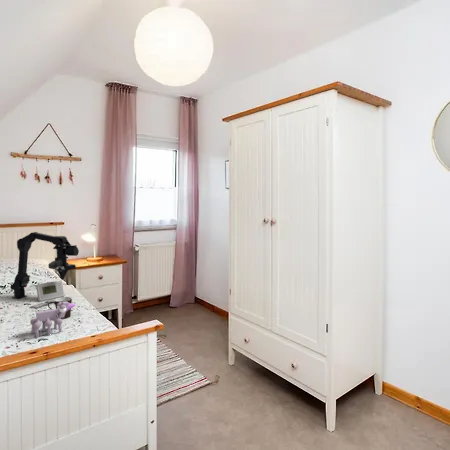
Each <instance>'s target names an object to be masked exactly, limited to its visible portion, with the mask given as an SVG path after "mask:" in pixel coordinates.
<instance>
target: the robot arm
mask: <svg viewBox="0 0 450 450" xmlns="http://www.w3.org/2000/svg"><path fill="white" fill-rule="evenodd" d="M36 240H39V241H44V242H48V243H51V244H53V245H55V246H54V247H52V249H53V250H56V257H54V260H53V261H51V262H49V263H48V265H47V266H48V269H50V270H52V269H53V270H54V271H56V272H57V273H58V275H59V276H60V279H61V281H63V280H64V279H65V277H66V276H67V273H68V272H69V271H71V270H76V269H77V268H76V267H77V265H76V264H72V263H70V264H69V262H67V261H68V259H69V257H72V256H75V257H77V256H78V255H79V251H80V249H79V248H78V247H77V245H76V244H73V245H72V244H71V243H70V242H69V240H68V238H67V236H65V235H64V236H63V235H49V234H46V233H41V232H37V231H33V232H32V231H31V232H30V233H29V234H27V235H25V236H24V237H22V238H18V239H17V240H16V246H17V250H18V252H19V255H18V268H17V274H16V275H15V277H14V281H13V283H12V284H11V285H10V290H11V291H13V296H11V299H17V300H19V299H22V298H26V297H28V296H27V295H26V294H25V293H26V291H25V288H26V287H27V286H28V284H29V283H30V281H31V279H30V278H31V275H30V274H28V273H27V271H28V270H27V269H28V260H29V259H28V258H29V251H30V249H31V247H32V244H33V242H35V241H36Z"/></svg>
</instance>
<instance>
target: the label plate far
mask: <svg viewBox="0 0 450 450" xmlns="http://www.w3.org/2000/svg"><path fill="white" fill-rule="evenodd" d="M54 300H55V299H51V300H46V301H44V304H48V303H50V302H55V301H54ZM52 304H54V303H50V304H49V305H52Z"/></svg>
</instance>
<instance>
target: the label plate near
mask: <svg viewBox="0 0 450 450" xmlns="http://www.w3.org/2000/svg"><path fill="white" fill-rule="evenodd" d="M47 306H48V303H45V302H41V303H37V304H34V305H32V306H31V305H30V306H29V308H31V309H36V310H38V309H40V308H41V309H42V308H43V307H47Z"/></svg>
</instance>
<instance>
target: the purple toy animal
mask: <svg viewBox="0 0 450 450" xmlns="http://www.w3.org/2000/svg"><path fill="white" fill-rule="evenodd" d="M75 306H76V304H75V303H73V302H72V303H68V302H67V301H66V302H59V303H58V304H57V309H56V308H51V309H46V310H40V311H36V312H35V313H36V314H35V315H36V318H35V317H34V318H31V319H30V324H31V334H35V338H37V337H38V338H39V337H40V333H39V329H40V327H41V325H42V328H41V329H42V330H41V331H42V332H46V328H47V332H48V336H51V335H50V334H53V333H52V325H53V329H54V330H57V329H58V333H59V332H62V333H63V327H62V323H63V319H61V318H63V317H64V316H65V313H66V312H67V311H68V310H70V309H71V310H72V309H73V308H74V307H75ZM58 313H59V314H58ZM57 314H58V315H57ZM41 322H42V323H41ZM53 322H54V324H53ZM56 328H57V329H56ZM38 338H37V339H38Z"/></svg>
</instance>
